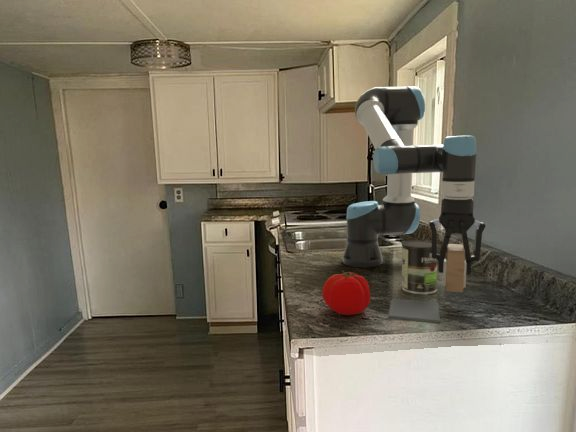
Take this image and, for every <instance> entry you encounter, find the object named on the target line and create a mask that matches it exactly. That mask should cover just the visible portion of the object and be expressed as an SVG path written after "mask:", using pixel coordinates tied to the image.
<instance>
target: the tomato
mask: <svg viewBox="0 0 576 432" xmlns="http://www.w3.org/2000/svg"><path fill="white" fill-rule="evenodd" d="M340 271H341V272H342V273H340V274H339V273H335V274H333V275H331V276H330V277H328V278H327V279H326V281H325V282H324V284H323V286H322V287H323V288H322V290H321V292H322V298H323V301H324V302H325V304H326V305H327V306H328V307H329V309H331V310H333V311H334V312H335V313H337V314H339V315H343V316H345V315H346V316H352V315H357V314H361V313H363V312H364V311H365V310H366V309H367V308H368V306H369V304H370V302H371V295H372V294H371V292H370V285H369V283H368V281H367V280H366V279H365V277H364V276H362V275H360V274H358V273H355V272H351V271H347V272H346V271H344V270H341V269H340Z"/></svg>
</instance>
